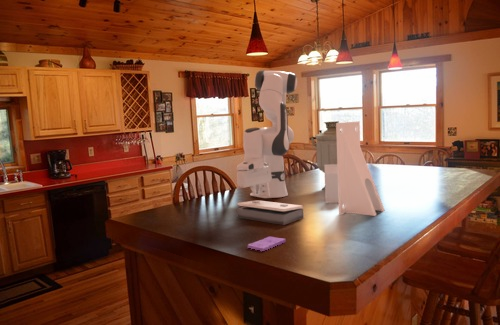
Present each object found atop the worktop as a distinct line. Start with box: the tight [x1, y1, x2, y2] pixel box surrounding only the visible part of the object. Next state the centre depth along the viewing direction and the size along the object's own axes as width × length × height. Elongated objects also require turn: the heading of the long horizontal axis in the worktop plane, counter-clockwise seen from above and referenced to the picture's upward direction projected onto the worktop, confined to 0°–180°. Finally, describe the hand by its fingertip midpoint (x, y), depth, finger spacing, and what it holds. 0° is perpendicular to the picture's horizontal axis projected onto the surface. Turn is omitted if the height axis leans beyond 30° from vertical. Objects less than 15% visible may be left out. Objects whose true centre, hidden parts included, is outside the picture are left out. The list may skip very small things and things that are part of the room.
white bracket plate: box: [336, 121, 386, 217], centre depth 177 cm, size 20×14×40 cm
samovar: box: [309, 120, 341, 191], centre depth 239 cm, size 30×26×40 cm
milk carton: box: [324, 164, 339, 204], centre depth 203 cm, size 7×7×19 cm
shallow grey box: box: [236, 206, 304, 226], centre depth 177 cm, size 26×14×4 cm, turn 48°
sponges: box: [247, 235, 286, 252], centre depth 138 cm, size 7×13×2 cm, turn 140°
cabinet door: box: [236, 200, 304, 212], centre depth 177 cm, size 26×14×2 cm, turn 48°
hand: (256, 194), depth 181 cm, fingers closed
